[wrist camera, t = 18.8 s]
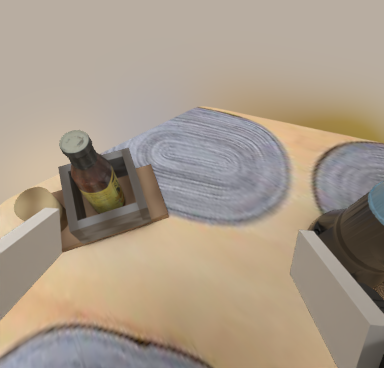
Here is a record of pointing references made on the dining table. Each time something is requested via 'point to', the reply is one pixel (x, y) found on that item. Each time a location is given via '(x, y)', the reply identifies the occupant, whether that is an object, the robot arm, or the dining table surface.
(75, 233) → the post socket
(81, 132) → the sauce bottle
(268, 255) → the dining table surface
